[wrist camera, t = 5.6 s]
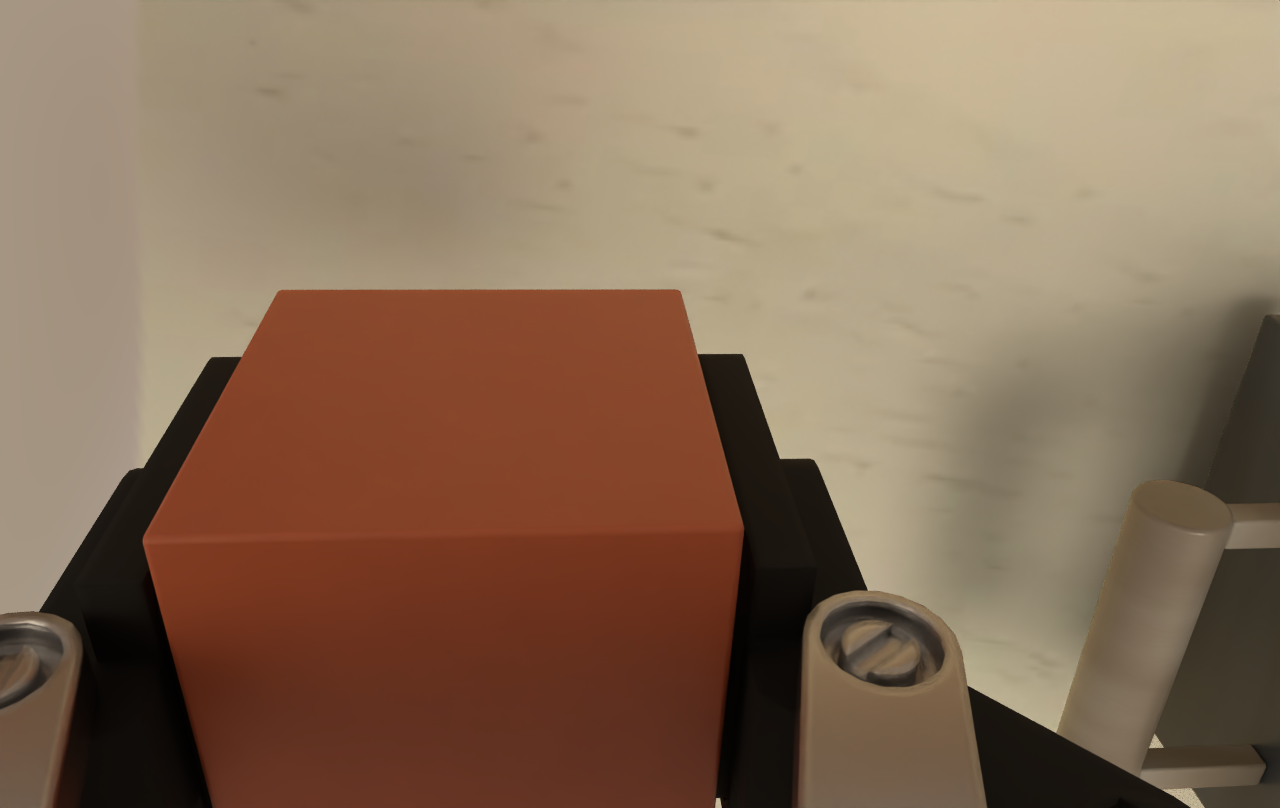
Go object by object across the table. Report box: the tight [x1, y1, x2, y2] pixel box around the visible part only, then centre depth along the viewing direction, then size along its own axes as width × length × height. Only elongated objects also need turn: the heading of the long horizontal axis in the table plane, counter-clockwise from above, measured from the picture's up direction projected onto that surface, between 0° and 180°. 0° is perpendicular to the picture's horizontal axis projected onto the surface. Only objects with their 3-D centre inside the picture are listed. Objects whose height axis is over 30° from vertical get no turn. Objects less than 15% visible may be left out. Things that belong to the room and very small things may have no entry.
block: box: [143, 290, 744, 808], centre depth 11 cm, size 4×4×4 cm
